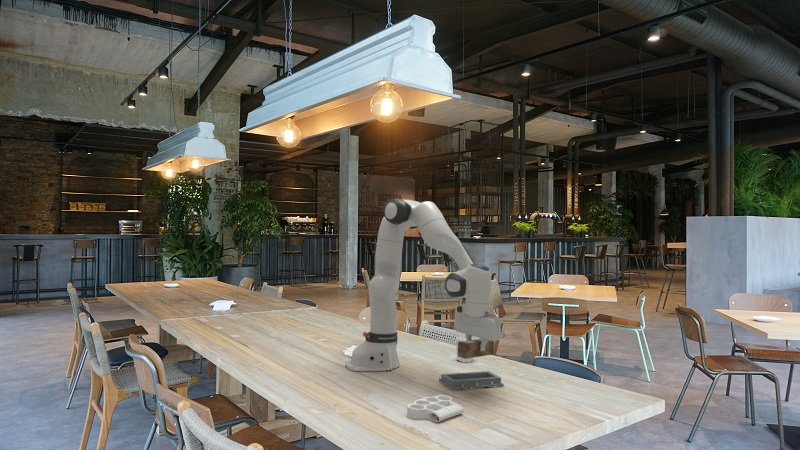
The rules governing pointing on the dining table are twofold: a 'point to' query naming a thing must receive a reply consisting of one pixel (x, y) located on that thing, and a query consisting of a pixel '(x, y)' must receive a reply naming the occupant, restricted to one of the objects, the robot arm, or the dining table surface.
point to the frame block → (474, 349)
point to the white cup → (457, 348)
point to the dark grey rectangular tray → (470, 380)
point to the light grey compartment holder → (434, 408)
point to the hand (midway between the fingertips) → (476, 349)
